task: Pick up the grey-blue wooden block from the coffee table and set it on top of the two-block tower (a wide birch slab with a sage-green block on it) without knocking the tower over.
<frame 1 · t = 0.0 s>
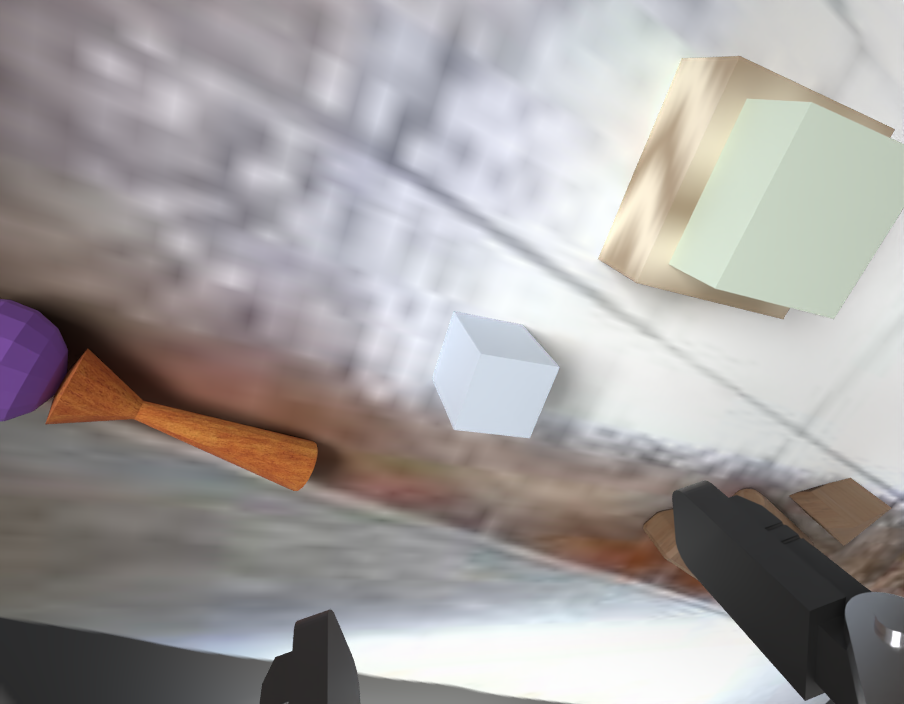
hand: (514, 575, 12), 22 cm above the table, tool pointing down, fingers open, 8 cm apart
tower base: (707, 190, 34), on the table
tower top: (764, 206, 30), point 5 cm above the table
wooden block set: (746, 498, 51), on the table
blue block: (476, 351, 35), on the table
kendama: (155, 387, 31), on the table
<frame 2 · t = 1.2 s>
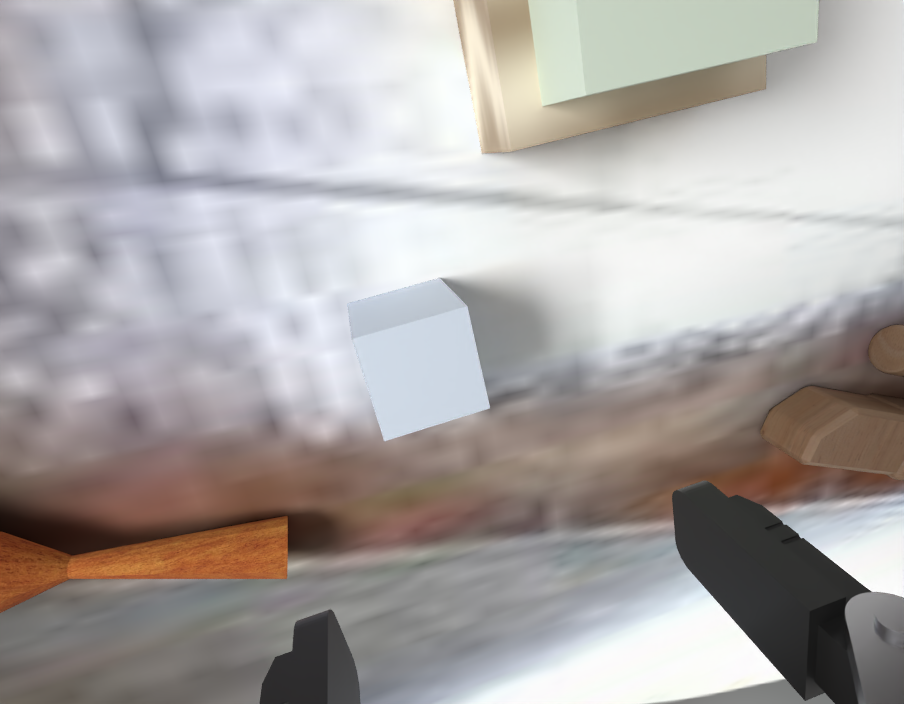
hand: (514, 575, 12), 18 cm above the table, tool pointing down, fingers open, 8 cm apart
wooden block set: (895, 341, 37), on the table
blue block: (406, 334, 28), on the table
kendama: (99, 532, 29), on the table
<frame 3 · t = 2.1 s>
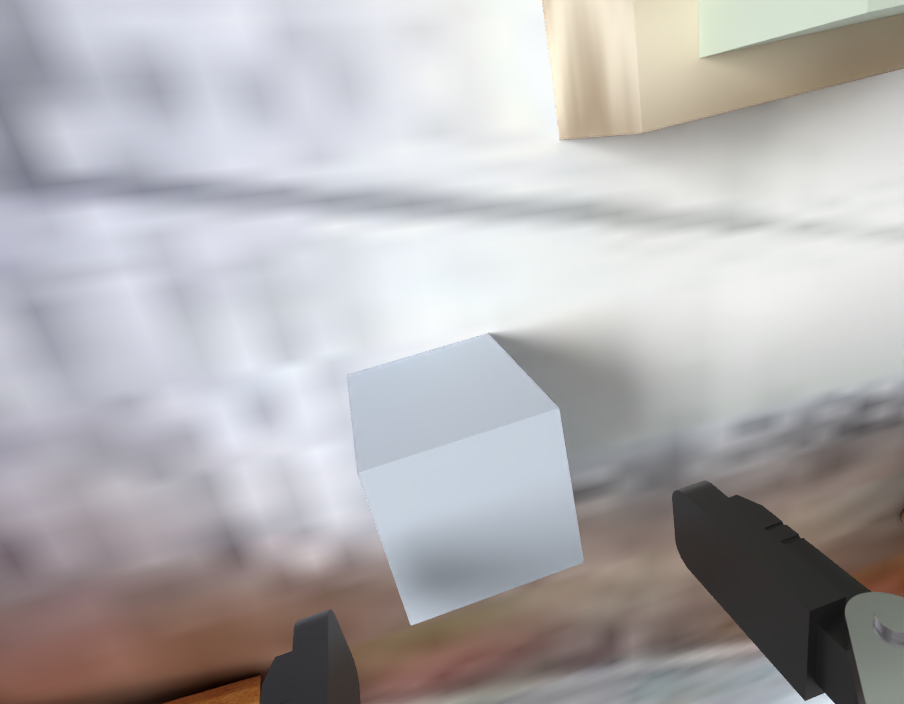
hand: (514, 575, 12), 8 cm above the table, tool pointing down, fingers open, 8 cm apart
blue block: (435, 415, 19), on the table
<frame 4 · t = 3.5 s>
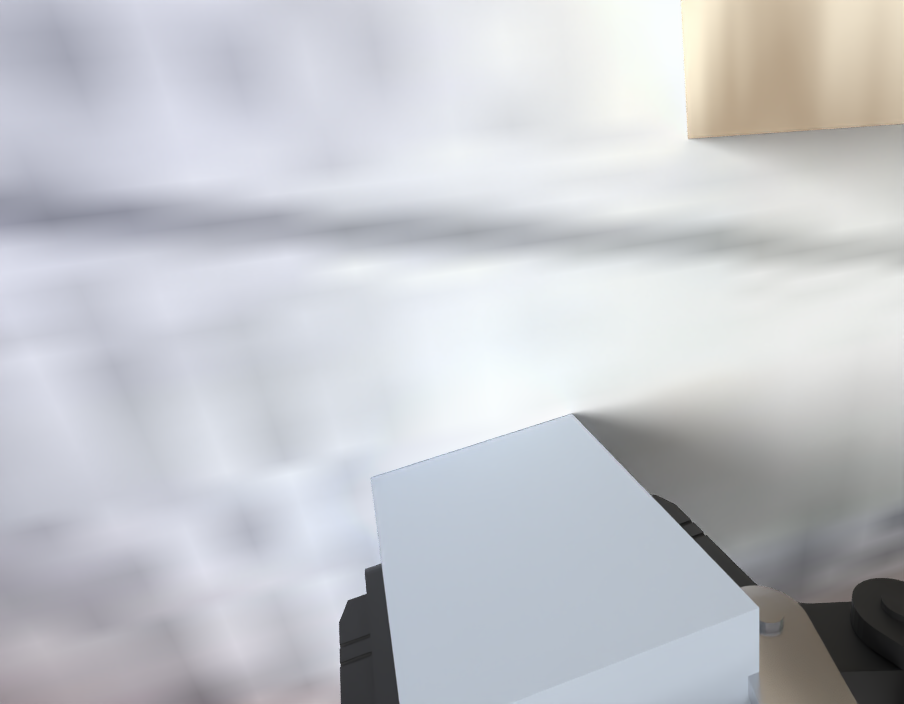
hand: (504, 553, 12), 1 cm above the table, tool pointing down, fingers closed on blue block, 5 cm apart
blue block: (493, 527, 13), on the table, touching gripper
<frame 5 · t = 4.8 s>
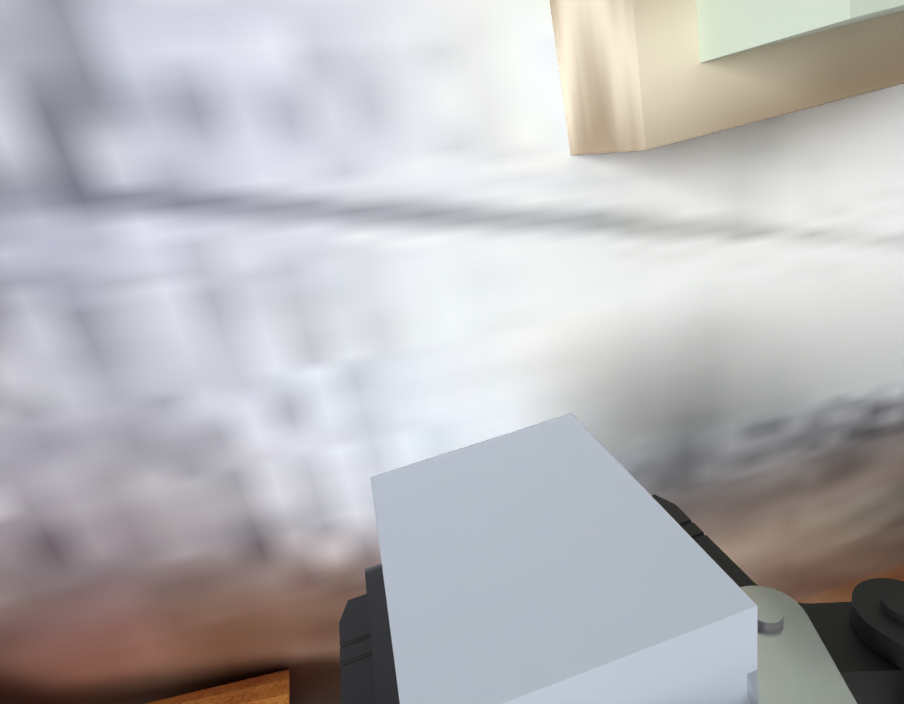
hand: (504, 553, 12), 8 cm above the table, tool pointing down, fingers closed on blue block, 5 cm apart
blue block: (493, 526, 13), point 7 cm above the table, touching gripper
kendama: (19, 691, 20), on the table
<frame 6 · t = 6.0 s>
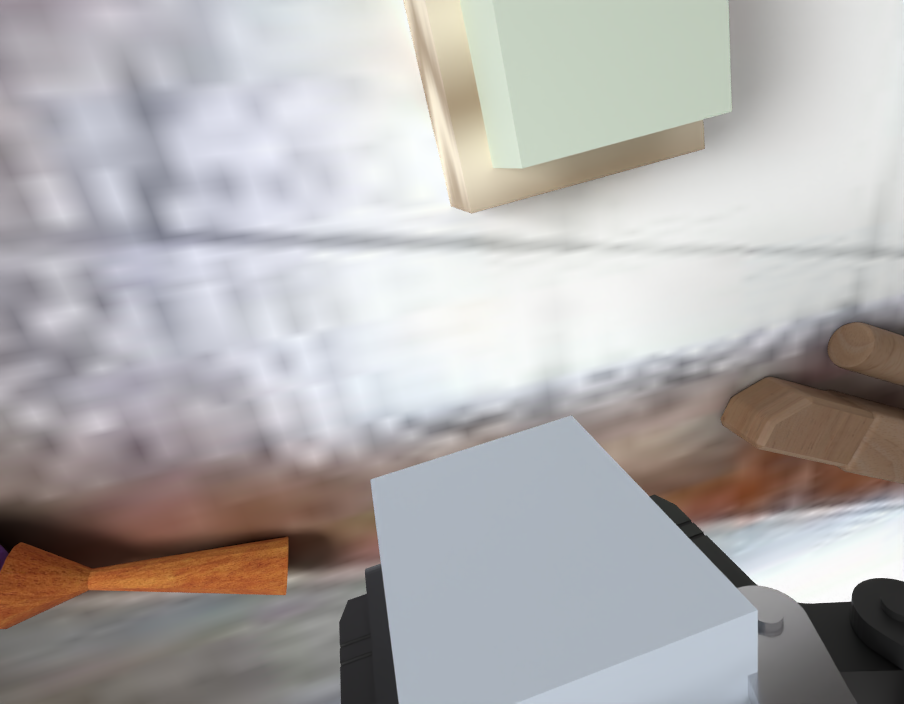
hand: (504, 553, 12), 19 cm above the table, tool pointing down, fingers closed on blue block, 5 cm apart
tower base: (532, 59, 27), on the table, touching tower top
tower top: (570, 33, 23), point 5 cm above the table, touching tower base
wooden block set: (854, 340, 38), on the table
blue block: (493, 528, 13), point 18 cm above the table, touching gripper
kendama: (115, 546, 31), on the table
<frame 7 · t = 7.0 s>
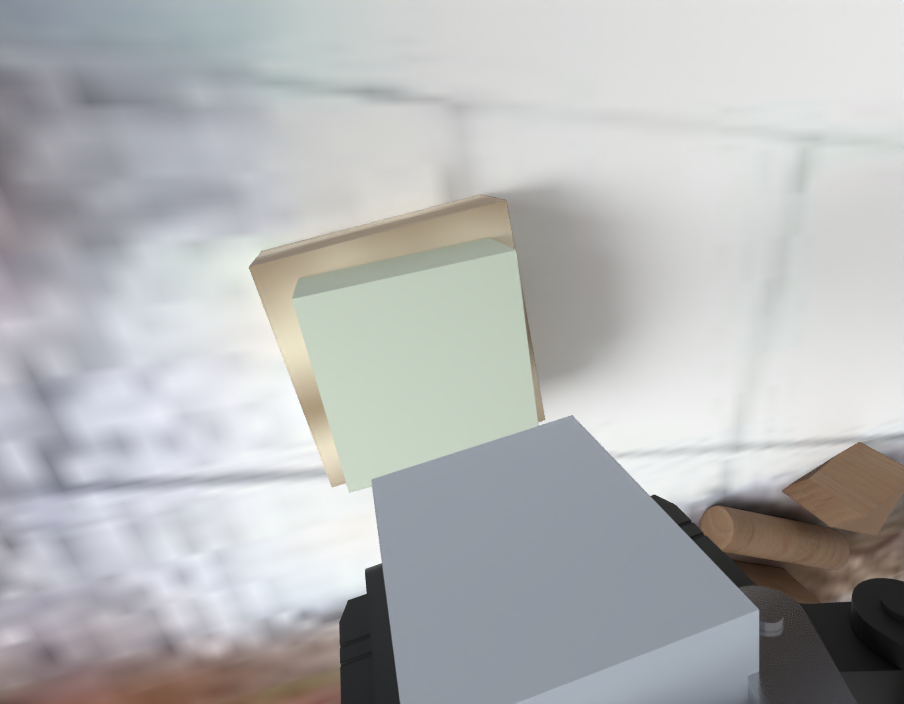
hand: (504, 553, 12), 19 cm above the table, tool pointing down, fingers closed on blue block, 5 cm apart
tower base: (401, 323, 31), on the table, touching tower top
tower top: (415, 346, 26), point 5 cm above the table, touching tower base
wooden block set: (729, 512, 42), on the table
blue block: (494, 528, 13), point 18 cm above the table, touching gripper
when the fingers open (11 cm above the table, at t = 9.2 s): blue block drops 2 cm, resting on tower top.
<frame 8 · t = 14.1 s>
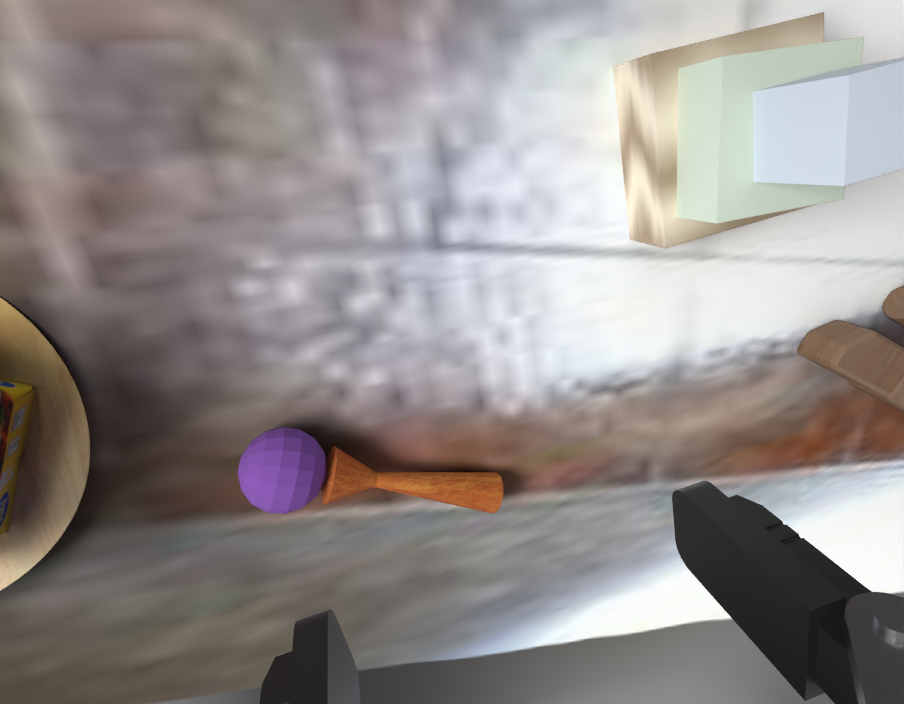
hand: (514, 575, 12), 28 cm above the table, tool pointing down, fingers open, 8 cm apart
tower base: (692, 138, 39), on the table, touching tower top
tower top: (739, 136, 34), point 5 cm above the table, touching blue block, tower base
wooden block set: (900, 305, 49), on the table
blue block: (790, 127, 31), point 9 cm above the table, touching tower top
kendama: (375, 462, 42), on the table
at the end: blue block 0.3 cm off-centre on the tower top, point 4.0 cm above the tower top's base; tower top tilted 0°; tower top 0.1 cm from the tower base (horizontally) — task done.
